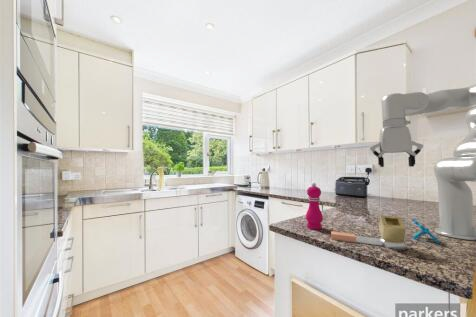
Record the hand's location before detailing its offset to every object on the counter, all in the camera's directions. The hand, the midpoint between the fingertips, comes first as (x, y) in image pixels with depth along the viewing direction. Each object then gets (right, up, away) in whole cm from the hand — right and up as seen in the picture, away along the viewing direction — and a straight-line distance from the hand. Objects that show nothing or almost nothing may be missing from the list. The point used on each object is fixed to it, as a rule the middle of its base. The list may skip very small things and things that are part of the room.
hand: (396, 166), depth 81 cm
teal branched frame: (+6, -28, -6) cm, 29 cm away
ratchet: (-18, -27, -9) cm, 33 cm away
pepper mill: (-30, -28, +9) cm, 42 cm away
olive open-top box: (-11, -23, -11) cm, 28 cm away
